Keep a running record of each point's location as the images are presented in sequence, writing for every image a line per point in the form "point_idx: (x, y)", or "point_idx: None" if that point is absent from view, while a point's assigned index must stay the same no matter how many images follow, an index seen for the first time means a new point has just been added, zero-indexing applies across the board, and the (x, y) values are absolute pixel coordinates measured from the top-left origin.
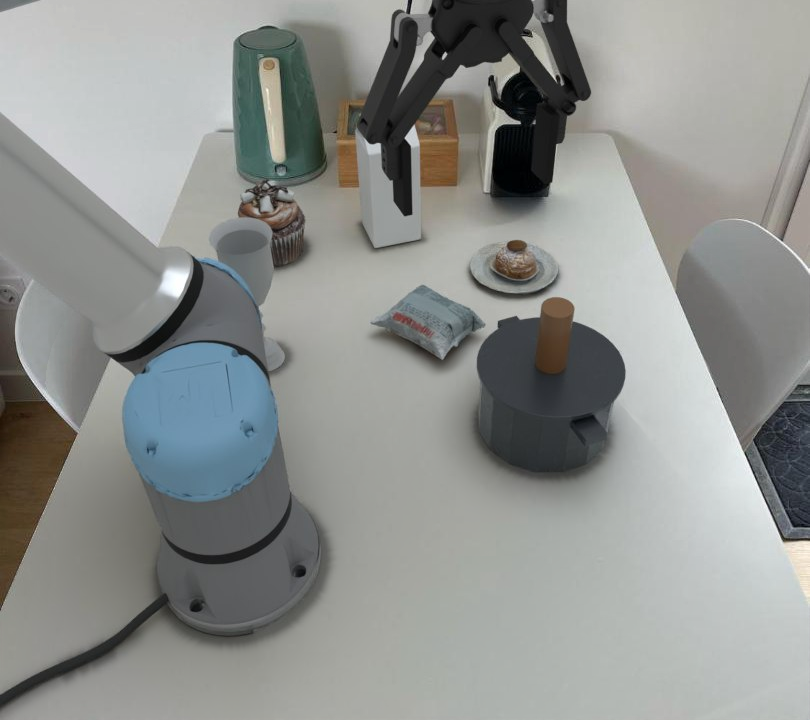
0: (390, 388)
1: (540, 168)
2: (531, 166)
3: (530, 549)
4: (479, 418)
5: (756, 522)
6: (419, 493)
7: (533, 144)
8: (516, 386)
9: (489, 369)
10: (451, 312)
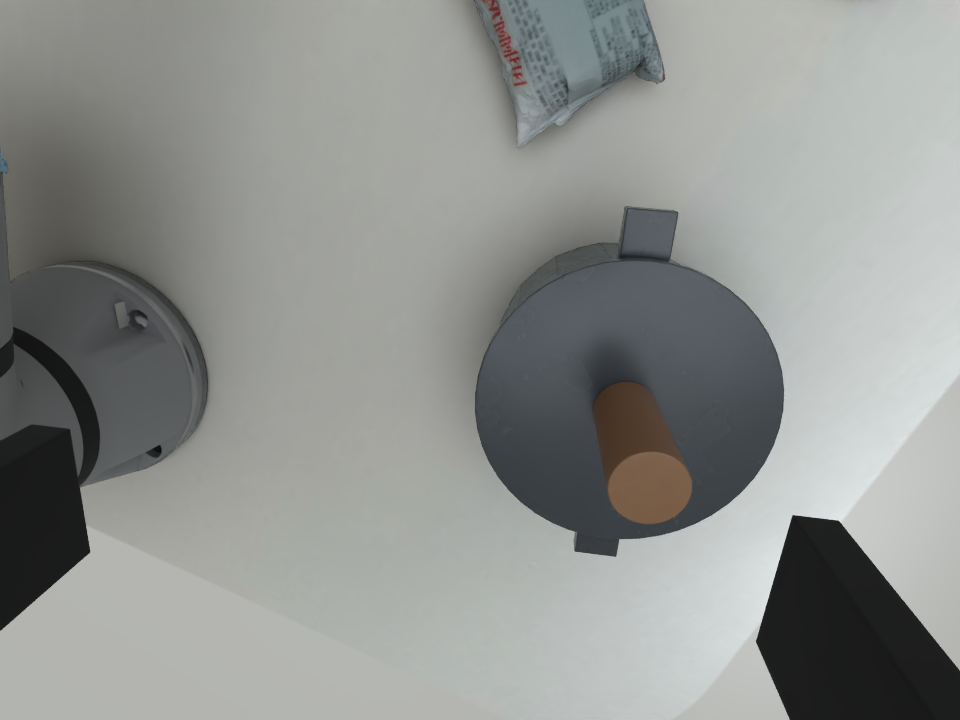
0: (410, 136)
1: (793, 638)
2: (800, 532)
3: (461, 516)
4: (503, 319)
5: (750, 616)
6: (365, 374)
7: (871, 636)
8: (527, 430)
9: (506, 367)
10: (591, 43)
